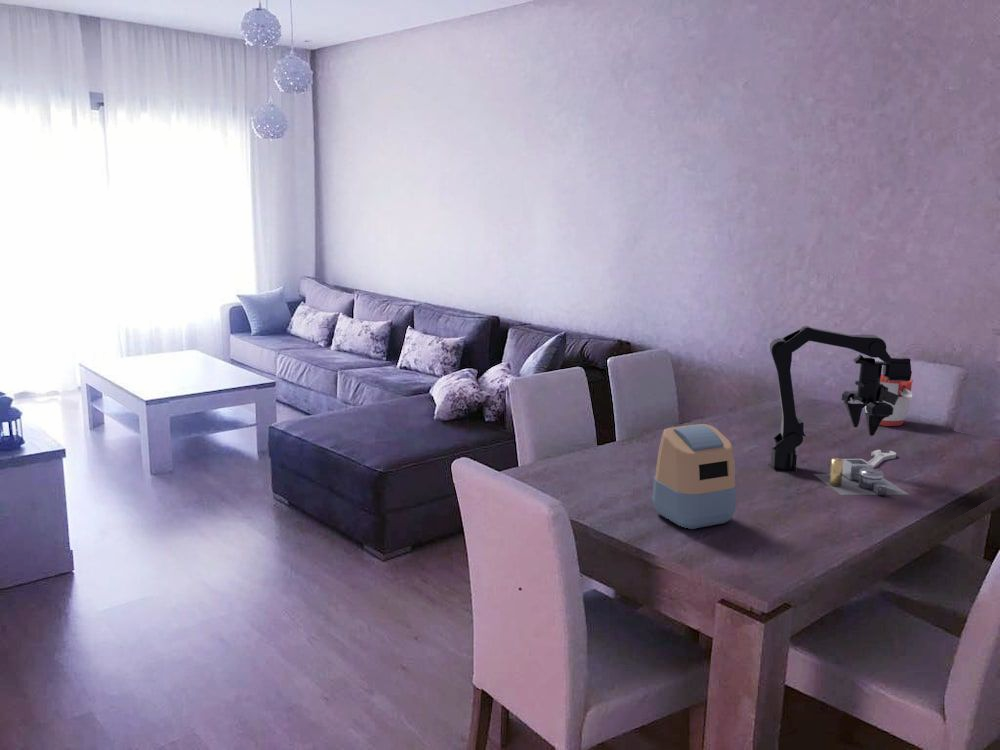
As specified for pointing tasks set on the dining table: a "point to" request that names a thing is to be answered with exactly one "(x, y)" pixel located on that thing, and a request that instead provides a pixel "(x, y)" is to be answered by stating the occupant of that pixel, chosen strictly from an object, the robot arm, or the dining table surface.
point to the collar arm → (852, 473)
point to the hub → (869, 478)
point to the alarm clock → (695, 477)
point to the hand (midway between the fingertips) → (863, 431)
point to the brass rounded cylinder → (836, 472)
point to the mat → (852, 487)
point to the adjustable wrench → (881, 457)
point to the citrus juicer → (902, 403)
